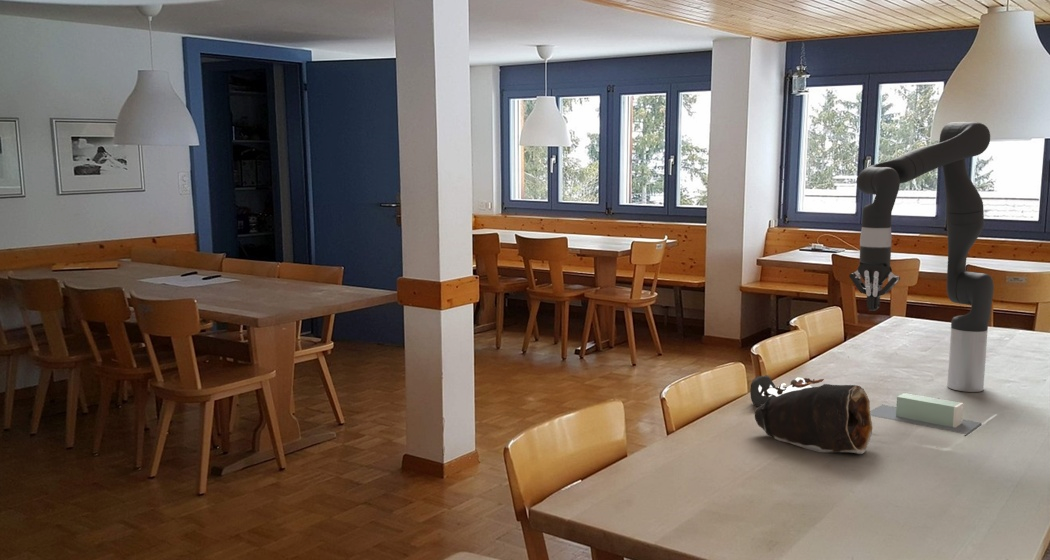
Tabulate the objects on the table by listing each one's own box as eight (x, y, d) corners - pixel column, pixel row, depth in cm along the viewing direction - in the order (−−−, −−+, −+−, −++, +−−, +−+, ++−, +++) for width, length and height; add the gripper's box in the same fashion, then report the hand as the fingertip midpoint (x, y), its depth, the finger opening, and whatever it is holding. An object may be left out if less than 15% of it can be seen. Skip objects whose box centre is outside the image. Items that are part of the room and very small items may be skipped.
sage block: (904, 392, 220) (963, 403, 210) (903, 412, 220) (962, 423, 211) (897, 396, 216) (956, 407, 207) (895, 416, 217) (955, 427, 207)
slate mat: (882, 406, 227) (882, 404, 227) (981, 425, 211) (981, 422, 211) (864, 416, 219) (864, 413, 219) (966, 436, 202) (966, 433, 202)
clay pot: (762, 377, 210) (865, 374, 194) (774, 437, 212) (878, 438, 196) (735, 398, 199) (843, 396, 183) (748, 461, 201) (856, 464, 184)
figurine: (763, 373, 237) (827, 371, 225) (767, 407, 237) (831, 408, 225) (738, 378, 227) (804, 378, 215) (742, 415, 226) (808, 416, 214)
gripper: (907, 244, 223) (903, 311, 225) (856, 241, 232) (853, 305, 234) (896, 247, 218) (893, 315, 220) (844, 244, 227) (842, 309, 229)
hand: (872, 310), depth 227 cm, fingers closed
